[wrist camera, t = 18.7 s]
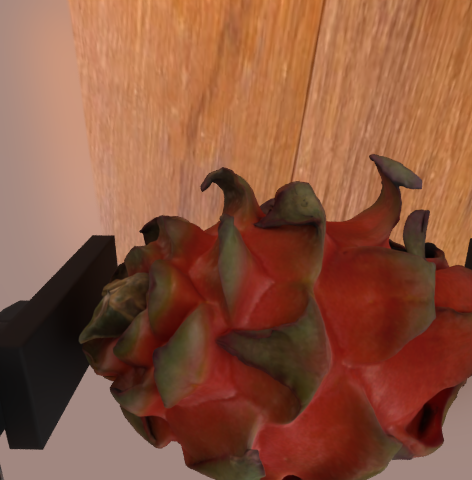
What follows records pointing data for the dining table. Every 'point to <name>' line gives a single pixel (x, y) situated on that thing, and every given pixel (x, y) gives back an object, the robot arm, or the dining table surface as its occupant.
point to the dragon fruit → (287, 335)
